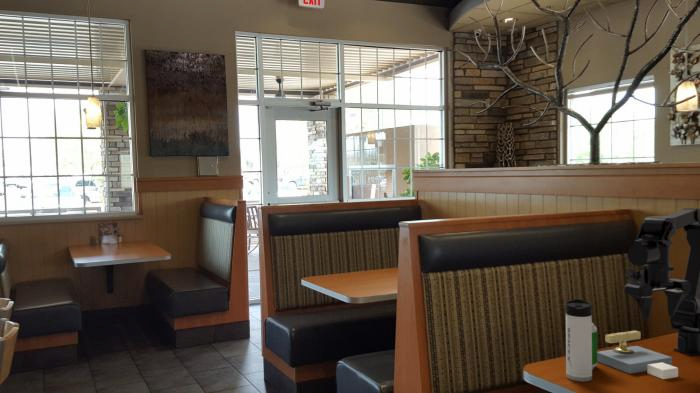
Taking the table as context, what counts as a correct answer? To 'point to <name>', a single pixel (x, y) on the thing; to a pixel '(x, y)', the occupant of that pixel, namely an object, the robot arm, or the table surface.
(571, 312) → the travel mug
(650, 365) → the white square block
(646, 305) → the robot arm
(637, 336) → the brass door handle
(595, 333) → the soda can
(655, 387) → the table surface
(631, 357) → the lock plate
